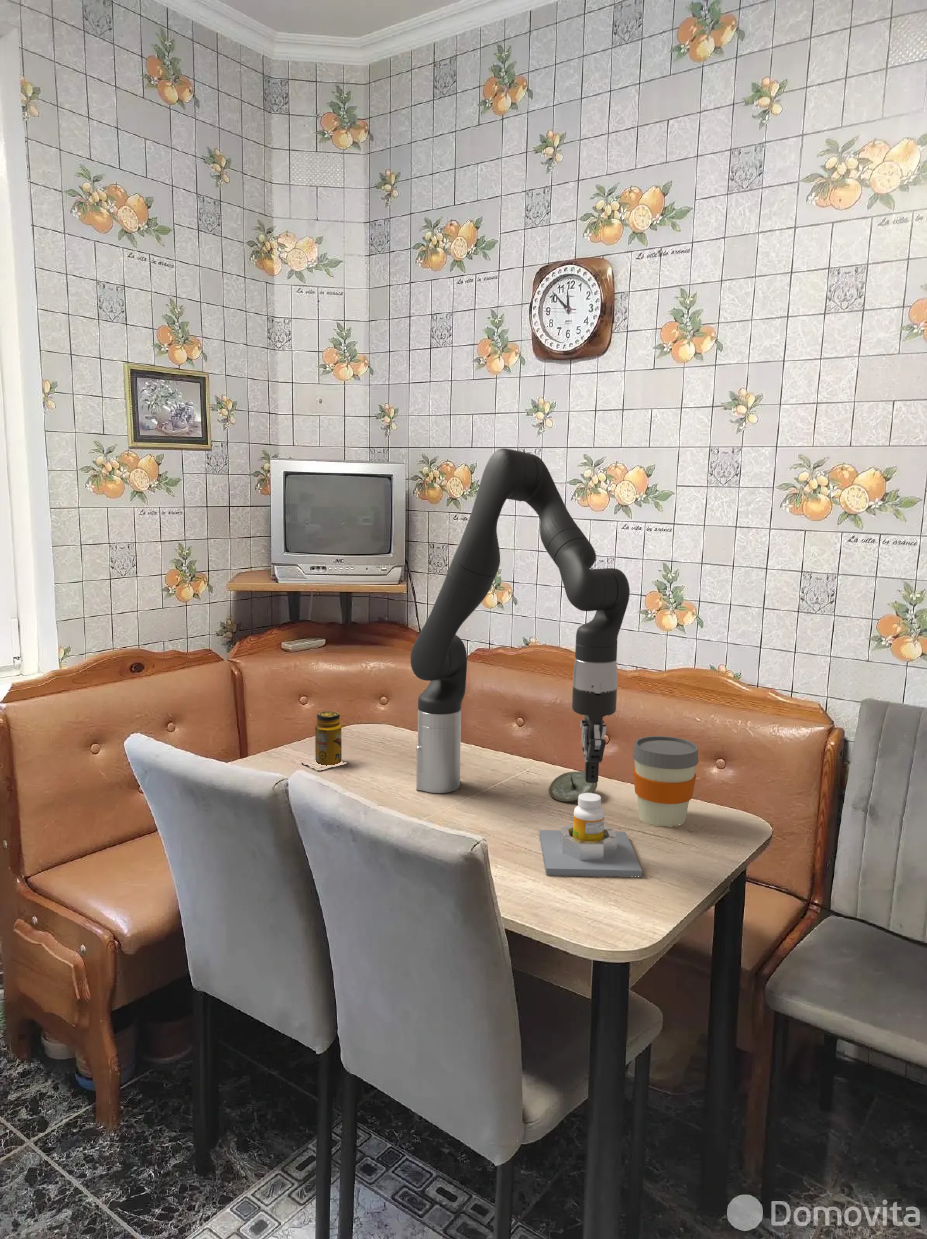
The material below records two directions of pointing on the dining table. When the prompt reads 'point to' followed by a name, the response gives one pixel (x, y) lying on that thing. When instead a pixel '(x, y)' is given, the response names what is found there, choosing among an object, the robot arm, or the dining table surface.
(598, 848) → the steel collar
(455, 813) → the dining table surface
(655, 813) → the reusable coffee cup
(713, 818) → the dining table surface
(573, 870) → the hub plate
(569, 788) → the lid
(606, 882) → the dining table surface
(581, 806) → the supplement bottle
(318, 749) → the condiment
